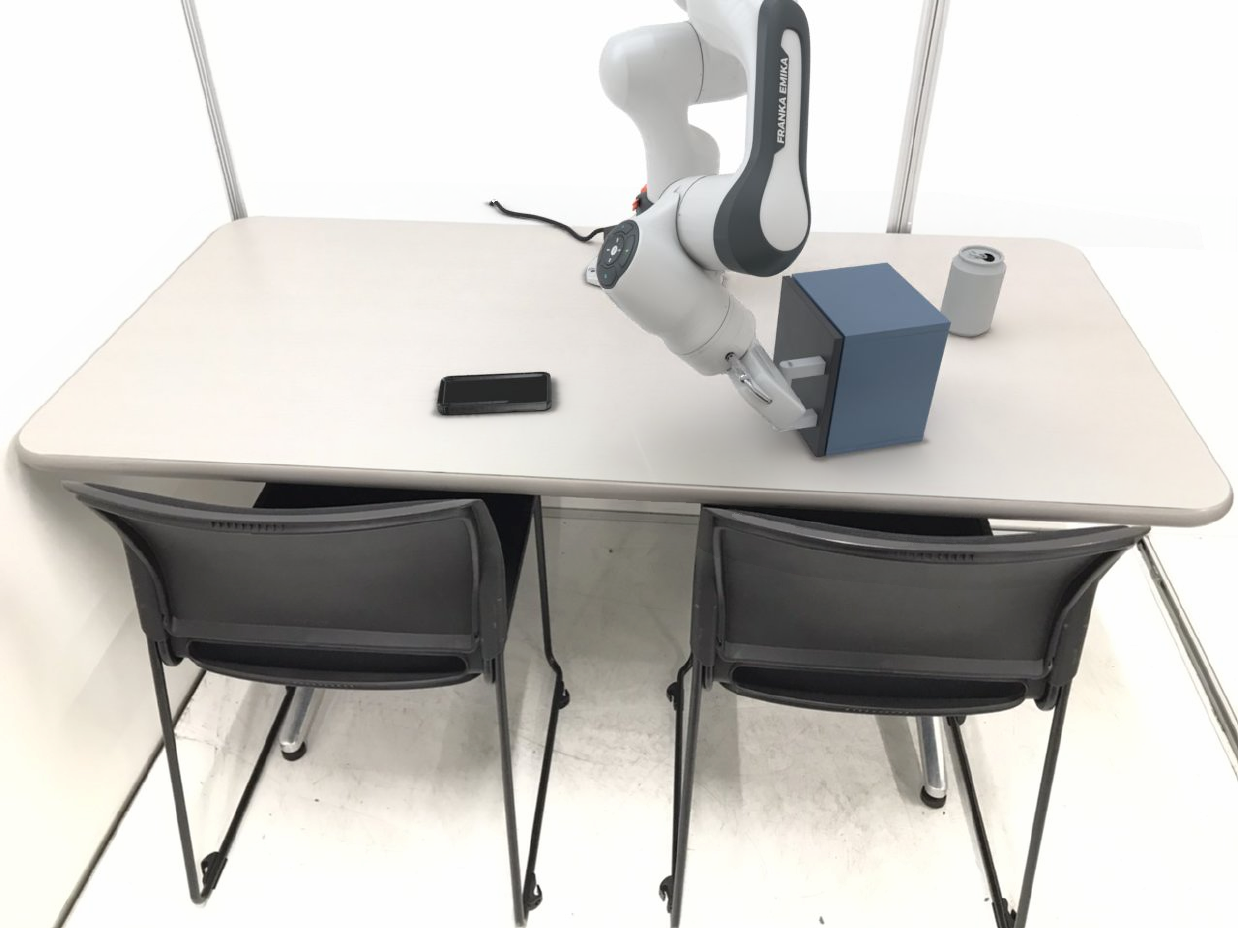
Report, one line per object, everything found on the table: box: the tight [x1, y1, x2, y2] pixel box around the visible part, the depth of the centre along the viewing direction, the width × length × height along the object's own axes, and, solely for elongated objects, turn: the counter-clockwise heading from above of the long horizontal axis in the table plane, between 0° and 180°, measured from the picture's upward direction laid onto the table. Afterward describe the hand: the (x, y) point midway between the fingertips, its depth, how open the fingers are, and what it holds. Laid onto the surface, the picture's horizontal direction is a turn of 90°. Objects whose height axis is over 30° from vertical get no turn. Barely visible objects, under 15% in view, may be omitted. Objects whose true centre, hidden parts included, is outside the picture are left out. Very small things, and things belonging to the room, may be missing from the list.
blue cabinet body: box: [791, 262, 951, 457], centre depth 114 cm, size 13×16×17 cm
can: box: [939, 244, 1007, 338], centre depth 133 cm, size 8×8×12 cm
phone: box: [436, 371, 552, 415], centre depth 123 cm, size 8×1×15 cm
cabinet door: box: [771, 274, 843, 458], centre depth 112 cm, size 6×16×17 cm, turn 13°
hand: (789, 396), depth 107 cm, fingers closed on cabinet door, 2 cm apart
